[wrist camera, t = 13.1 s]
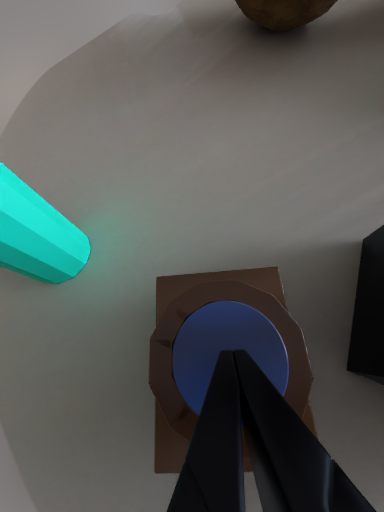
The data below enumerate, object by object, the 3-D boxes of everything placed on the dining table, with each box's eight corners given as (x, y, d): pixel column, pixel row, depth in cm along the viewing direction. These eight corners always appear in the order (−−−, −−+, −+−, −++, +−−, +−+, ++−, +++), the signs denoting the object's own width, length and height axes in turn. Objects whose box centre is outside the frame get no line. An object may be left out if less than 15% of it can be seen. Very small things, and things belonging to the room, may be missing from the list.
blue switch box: (291, 432, 14) (348, 495, 8) (172, 436, 15) (142, 498, 9) (263, 285, 18) (287, 255, 12) (169, 292, 19) (148, 267, 13)
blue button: (286, 411, 10) (303, 427, 8) (180, 416, 10) (172, 432, 8) (265, 304, 12) (275, 296, 10) (177, 311, 12) (170, 304, 10)
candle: (37, 233, 22) (-133, 125, 11) (92, 224, 22) (-27, 104, 11) (27, 288, 20) (-200, 218, 9) (89, 278, 20) (-67, 194, 9)
